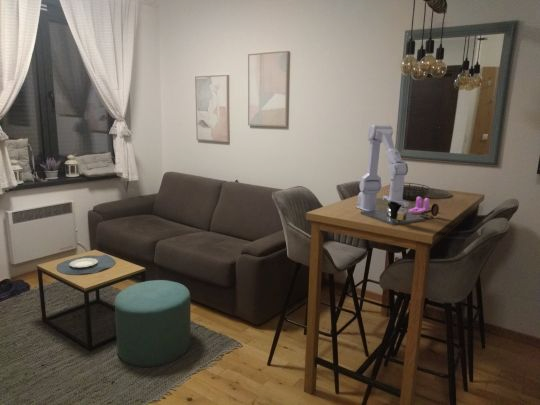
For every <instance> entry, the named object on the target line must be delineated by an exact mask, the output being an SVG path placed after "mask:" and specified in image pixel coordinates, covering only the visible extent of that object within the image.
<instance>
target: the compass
mask: <svg viewBox="0 0 540 405" xmlns="http://www.w3.org/2000/svg"><path fill="white" fill-rule="evenodd" d="M439 208H440V207H439V204H438V203H435V202H434V203H433V204H432V205H431V208H430V213H431V214H430V213H420V214H419V215H418V216H419V217H422V218H425V220H432V219H434V218H433V217H436V216H437V215H438V214H439V210H440V209H439Z"/></svg>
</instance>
